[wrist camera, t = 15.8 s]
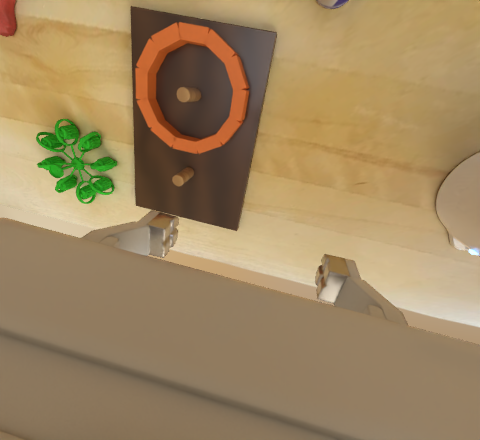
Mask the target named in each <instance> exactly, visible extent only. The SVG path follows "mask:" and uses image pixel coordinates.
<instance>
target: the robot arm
mask: <svg viewBox="0 0 480 440" xmlns="http://www.w3.org/2000/svg"><path fill="white" fill-rule="evenodd" d="M436 211H437V215H438V217H439V219H440V221H441V223H442V224H443V225H444V226H445V227H446V229H447V230H448V232H449V240H450V244H451V245H452V246H453V247H454V248H456V249H458V250H465V251H469V252H470V253H471V254H474V255H478V256H479V257H480V152H479V153H476V154H475V155H473V156H471V157H469V158H468V159H466V160H465V161H463V162H462V163H461V164H459V165H458V166H457V167H456V168H455V169H454V170H453V171H452V172H451V173H450V174H449V175H448V176H447V178H446V179H445V180H444V182H443V184H442V185H441V187H440V189H439V192H438V195H437V199H436ZM178 224H179V218H178V217H176V216H172V215H169V214H165V213H161V212H158V211H152V210H151V211H150V212H149V213H148V214H146V215H145V216H144V217H143V218H142V219H140V220H139V221H138V222H130V223H126V224H121V225H117V226H112V227H107V228H103V229H98V230H93V231H91V232H89V233H88V234H86V235H85V236H84V237H82V238H78V237H74V236H70V235H66V234H63V233H59V232H56V231H52V230H48V229H44V228H41V227H37V226H33V225H29V224H26V223H22V222H19V221H15V220H12V219H8V218H0V440H480V345H479V344H475V343H471V342H468V341H463V340H460V339H456V338H453V337H449V336H445V335H441V334H438V333H434V332H430V331H426V330H423V329H419V328H415V327H411V326H408V323H407V321H406V320H405V317H404V315H403V314H402V312H401V311H399V310H398V309H397V308H396V307H395V306H394V305H392V304H391V303H390V302H389V301H388V300H387V299H385V298H384V297H383V296H382V295H381V294H380V293H378V292H377V291H376V290H375V289H374V288H373V287H371V286H370V285H369V284H368V283H367V282H366V281H364V280H361V277H360V275H359V272H358V269H357V267H356V264H355V261H353V260H349V259H345V258H340V257H336V256H331V255H327V254H324V256H323V257H322V260H321V262H322V265H321V266H319V267H318V270H317V272H316V277H315V282H316V285H317V286H318V287H317V298H318V299H320V300H323V301H327V302H330V303H333V304H334V305H335V306H333V305H329V304H325V303H322V302H318V301H313V300H310V299H307V298H303V297H299V296H295V295H292V294H288V293H284V292H280V291H277V290H273V289H269V288H265V287H261V286H257V285H254V284H250V283H247V282H243V281H239V280H235V279H231V278H228V277H224V276H220V275H217V274H213V273H209V272H205V271H202V270H198V269H194V268H190V267H186V266H183V265H179V264H175V263H172V262H168V261H164V260H160V259H157V258H153V257H149V256H148V255H153V256H158V257H162V258H164V257H165V256H166V255H167V253H168V252H169V248H170V247H173V246H174V244H175V242H176V240H177V236H178V230H177V228H176V227H177V226H178Z"/></svg>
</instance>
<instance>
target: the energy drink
mask: <svg viewBox="0 0 480 440" xmlns="http://www.w3.org/2000/svg"><path fill="white" fill-rule="evenodd" d="M316 1H317V3H318V4H319V5H321V6H322V7H324V8H327V9H334V8H338V7H340V6H342V5H344V4H345V3H346V2H347V1H349V0H316Z"/></svg>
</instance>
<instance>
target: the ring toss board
mask: <svg viewBox="0 0 480 440" xmlns="http://www.w3.org/2000/svg"><path fill="white" fill-rule="evenodd" d="M176 22H177V23H178V24H179V22H182V23H188V24H193V25H199V26H204V27H209V28H210V29H212V30H213V31H215V32H216V33H217V34H218V35H219V36H220V37H221V38H222V39H223V40H224V41H225V42H226V43H227V44H228V45H229V46H230V47H231V48H232V49H233V50H234V51H235V52H236V53H237V54H238V56H239V57H240V59H241V62H242V65H243V69H244V72H245V75H246V78H247V82H248V85H249V88H248V89H246V90H249V96H248V102H247V108H246V113H245V119H244V120H242V121H243V123H242V124H241V126H240V127H239V128H238V129H237V131H236V132H235V133H234V134H233V136H232V137H231V138H230V139H229V141H228V142H226V143H225V144H224V145H222V146H220V147H217V148H215V149H212V150H209V151H206V152H203V153H200V154H199V153H197V154H195V153H190V152H186V151H182V150H177V149H173V147H170V146H169V145H167V144H166V143H165V142H164V141H163V140H162V139H160V138H159V137H158V136H157V135H156V134H155V133H154V132H152V131H151V128H152V127H151V128H149V127H148V125H147V122H146V120H145V118H144V116H143V114H142V112H141V110H140V107H139V105H138V103H137V101H138V100H140V99H136V74H135V68H139V67H137V66H136V64H137V62H138V60H139V58H140V56H141V54H142V52H143V50H144V48H145V46H146V44H147V42H148V40H149V38H150V39H152V37H151V36H152V35H154V34H156V33H158V32H160V31H161V30H163V29H165V28H167V27H169V26H170V25H172V24H174V23H176ZM276 37H277V33H276V32H271V31H265V30H260V29H254V28H249V27H243V26H238V25H232V24H227V23H221V22H216V21H210V20H204V19H199V18H193V17H188V16H182V15H177V14H171V13H166V12H160V11H155V10H149V9H144V8H138V7H133V6H131V38H132V77H133V116H134V155H135V194H136V206H140V207H144V208H148V209H152V210H156V211H160V212H164V213H168V214H172V215H176V216H180V217H184V218H188V219H192V220H196V221H199V222H203V223H207V224H211V225H215V226H219V227H223V228H227V229H231V230H235V231H237V230H238V227H239V222H240V217H241V212H242V207H243V202H244V197H245V192H246V187H247V182H248V177H249V172H250V167H251V162H252V157H253V152H254V147H255V142H256V137H257V132H258V127H259V122H260V117H261V112H262V107H263V102H264V97H265V92H266V87H267V82H268V77H269V72H270V67H271V62H272V57H273V52H274V47H275V42H276ZM232 95H233V88H232V85H231V82H230V79H229V76H228V73H227V70H226V67H225V64H224V63H223V62H222V61H221V60H220V59H219V58H218V57H217V56H216V55H215V54H214V53H213V52H212V51H211V50H210V49H209V48H208V47H206V46H200V45H195V44H190V43H187V44H185V45H183V46H181V47H179V48H177V49H175V50H173V51H171V52H169V53H167V55H166V57H165V59H164V61H163V63H162V64H161V66H160V68H159V70H158V72H157V74H156V100H157V102H158V104H159V107H160V109H161V111H162V114H163V116H164V118H165V120H166V121H167V122H168V123H169V124H170V125H171V126H173V127H174V128H175V129H176V130H177V131H178V132H179V133H180V134H182V135H185V136H190V137H194V138H199V139H203V138H206V137H208V136H211V135H214V134H216V133H217V132H218V131H219V129H220V128H221V127H222V125H223V124H224V123H225V121H226V120H227V119H228V117H229V116H230V109H231V102H232Z"/></svg>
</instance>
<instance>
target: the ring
mask: <svg viewBox="0 0 480 440" xmlns="http://www.w3.org/2000/svg"><path fill="white" fill-rule="evenodd" d="M151 37H152V39H150V38H149V40H148V42H147V44H146V46H145V48H144V50H143V52H142V54H141V56H140V58H139V60H138V62H137V64H136V66H137V67H139V68H135V74H136V99H140V100H138V101H137V103H138V105H139V107H140V110H141V112H142V114H143V116H144V118H145V120H146V122H147V125H148V127H149V128H151V127H152V128H151V131H152V132H154V133H155V134H156V135H157V136H158V137H159V138H160V139H162V140H163V141H164V142H165V143H166V144H167V145H169V146H170V147H173V149H177V150H182V151H186V152H190V153H195V154H197V153H199V154H200V153H203V152H206V151H209V150H212V149H215V148H217V147H220V146H222V145H224V144H225V143H226V142H228V141H229V139H230V138H231V137H232V136H233V134H234V133H235V132H236V131H237V129H238V128H239V127H240V126H241V124H242V123H243V121H242V120H244V119H245V113H246V108H247V102H248V96H249V90H246V89H248V88H249V85H248V82H247V78H246V75H245V72H244V69H243V65H242V62H241V59H240V57H239V56H238V54H237V53H236V52H235V51H234V50H233V49H232V48H231V47H230V46H229V45H228V44H227V43H226V42H225V41H224V40H223V39H222V38H221V37H220V36H219V35H218V34H217V33H216V32H215V31H213V30H212V29H210V28H209V27H204V26H199V25H193V24H188V23H182V22H179V24H178V23H177V22H176V23H174V24H172V25H170V26H169V27H167V28H165V29H163V30H161V31H160V32H158V33H156V34H154V35H152V36H151ZM187 43H190V44H195V45H200V46H206V47H208V48H209V49H210V50H211V51H212V52H213V53H214V54H215V55H216V56H217V57H218V58H219V59H220V60H221V61H222V62H223V63H224V64H225V67H226V70H227V73H228V76H229V79H230V82H231V85H232V88H233V95H232V102H231V109H230V116H229V117H228V119H227V120H226V121H225V123H224V124H223V125H222V127H221V128H220V129H219V131H218V132H217V133H216V134H214V135H211V136H208V137H206V138H203V139H199V138H194V137H190V136H185V135H182V134H180V133H179V132H178V131H177V130H176V129H175V128H174V127H173V126H171V125H170V124H169V123H168V122H167V121H166V120H165V118H164V116H163V114H162V111H161V109H160V107H159V104H158V102H157V100H156V74H157V72H158V70H159V68H160V66H161V64H162V63H163V61H164V59H165V57H166V55H167V53H169V52H171V51H173V50H175V49H177V48H179V47H181V46H183V45H185V44H187Z"/></svg>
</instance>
